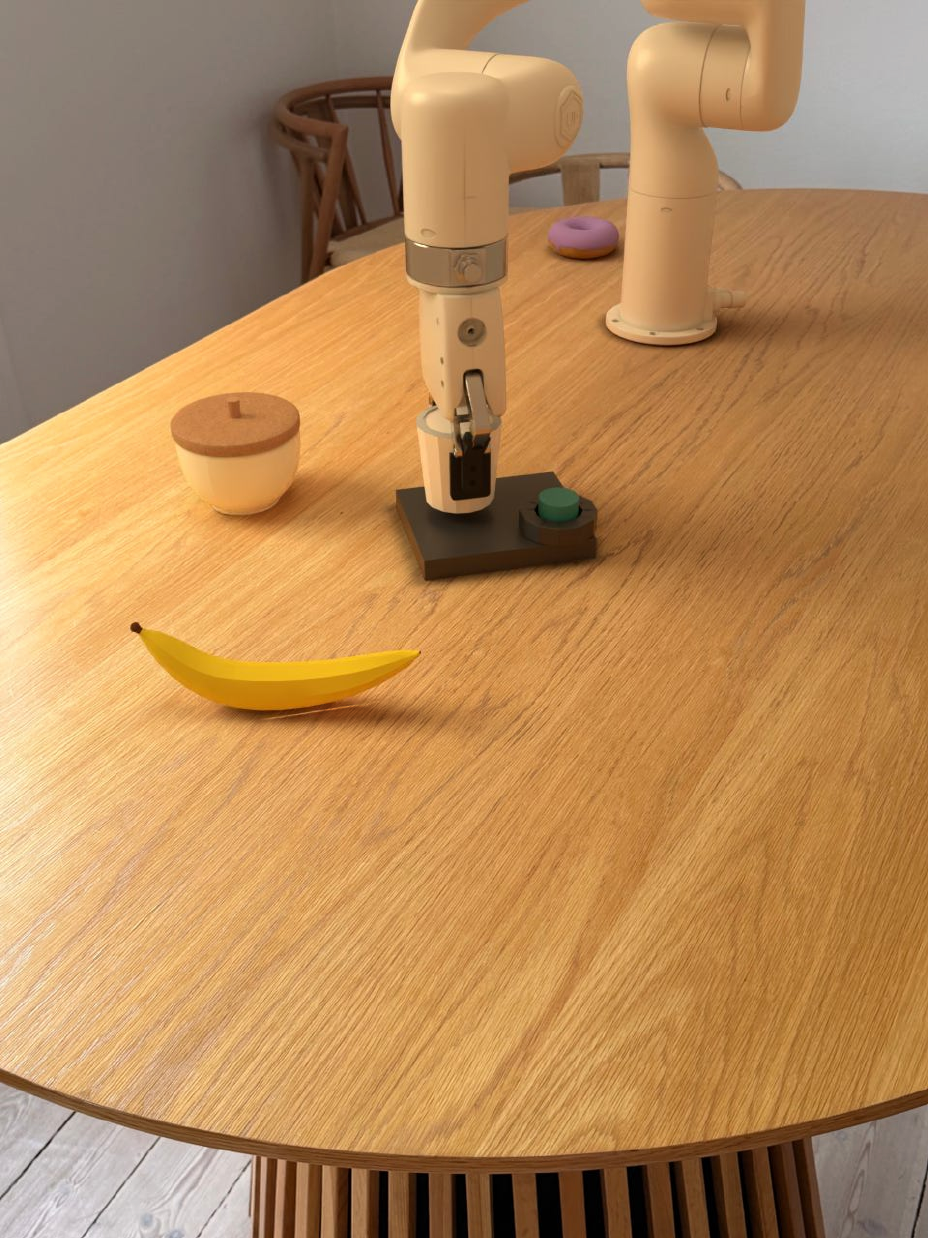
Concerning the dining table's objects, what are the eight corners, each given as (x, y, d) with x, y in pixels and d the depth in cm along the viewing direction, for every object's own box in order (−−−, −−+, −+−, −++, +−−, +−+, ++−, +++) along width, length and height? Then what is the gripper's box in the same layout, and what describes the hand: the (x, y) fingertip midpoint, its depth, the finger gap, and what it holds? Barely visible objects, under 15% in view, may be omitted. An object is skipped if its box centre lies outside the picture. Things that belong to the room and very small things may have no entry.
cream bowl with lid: (326, 480, 109) (318, 382, 103) (273, 538, 100) (261, 434, 95) (220, 463, 112) (207, 367, 106) (159, 518, 103) (142, 416, 98)
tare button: (571, 502, 99) (572, 485, 98) (583, 521, 96) (584, 503, 95) (533, 506, 98) (533, 489, 97) (544, 525, 96) (545, 508, 95)
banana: (420, 725, 80) (418, 647, 77) (138, 714, 81) (123, 636, 78) (425, 698, 83) (422, 621, 79) (151, 687, 84) (136, 611, 80)
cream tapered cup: (504, 478, 103) (505, 402, 99) (497, 519, 97) (498, 439, 93) (423, 475, 103) (421, 399, 99) (412, 515, 98) (409, 436, 94)
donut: (609, 262, 157) (604, 224, 155) (542, 269, 161) (536, 233, 159) (629, 240, 165) (624, 204, 163) (564, 247, 169) (558, 212, 166)
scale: (558, 489, 107) (560, 453, 105) (604, 561, 97) (607, 523, 95) (396, 508, 104) (394, 472, 102) (426, 585, 94) (425, 546, 92)
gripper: (539, 293, 83) (533, 521, 93) (478, 220, 97) (478, 425, 107) (431, 302, 81) (436, 533, 91) (385, 228, 95) (394, 435, 105)
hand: (459, 473), depth 99 cm, fingers closed on cream tapered cup, 6 cm apart
